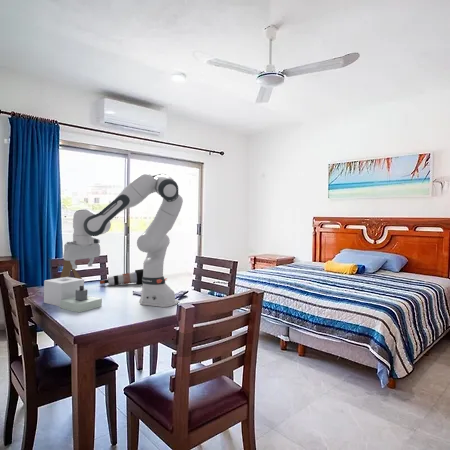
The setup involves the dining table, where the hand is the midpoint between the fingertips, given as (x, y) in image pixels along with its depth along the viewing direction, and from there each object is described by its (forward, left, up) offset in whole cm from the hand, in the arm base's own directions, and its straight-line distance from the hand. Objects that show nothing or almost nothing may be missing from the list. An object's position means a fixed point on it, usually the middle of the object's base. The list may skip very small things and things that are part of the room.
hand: (82, 267), depth 175 cm
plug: (0, 0, -20) cm, 20 cm away
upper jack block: (+16, -2, -21) cm, 26 cm away
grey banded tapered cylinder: (+23, -55, -21) cm, 63 cm away
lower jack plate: (0, 0, -21) cm, 21 cm away
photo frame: (+40, -25, -21) cm, 52 cm away
